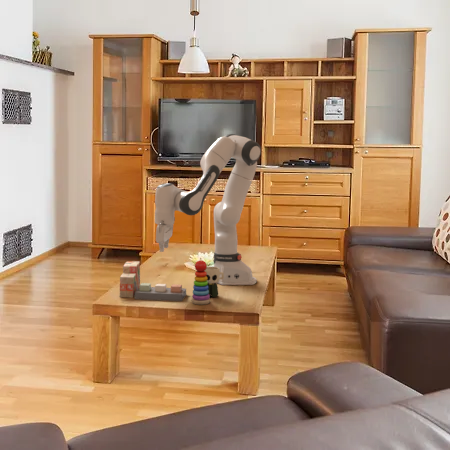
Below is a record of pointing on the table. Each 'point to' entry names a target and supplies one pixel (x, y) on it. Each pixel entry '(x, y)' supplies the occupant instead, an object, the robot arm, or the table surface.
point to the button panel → (160, 295)
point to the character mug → (213, 279)
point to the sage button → (145, 286)
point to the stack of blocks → (130, 279)
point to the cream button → (160, 288)
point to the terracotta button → (176, 288)
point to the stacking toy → (200, 285)
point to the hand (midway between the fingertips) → (164, 249)
